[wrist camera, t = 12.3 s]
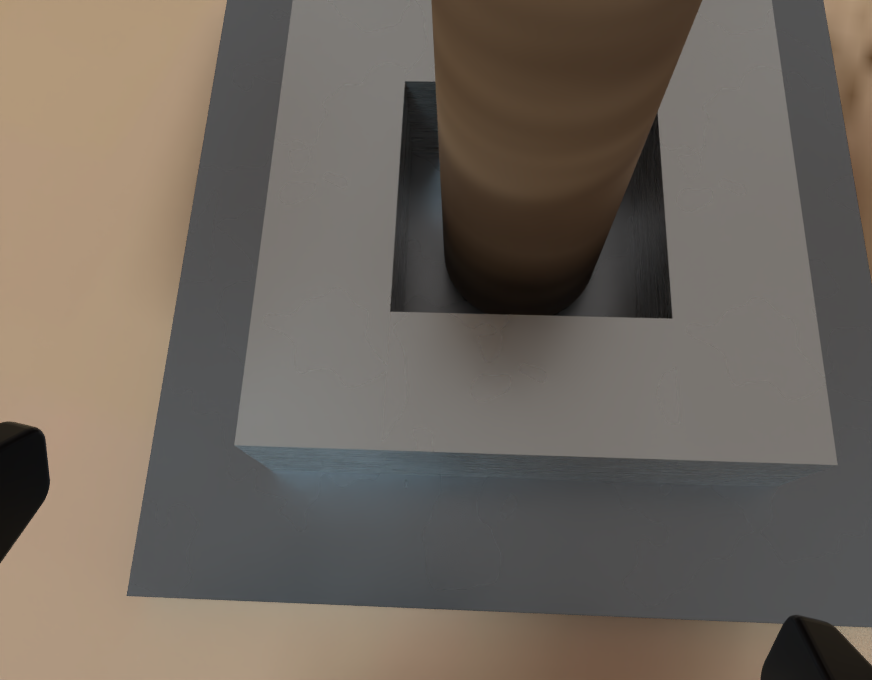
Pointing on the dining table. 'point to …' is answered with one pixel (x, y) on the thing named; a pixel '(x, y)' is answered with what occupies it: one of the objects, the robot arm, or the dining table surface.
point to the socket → (517, 348)
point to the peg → (543, 136)
